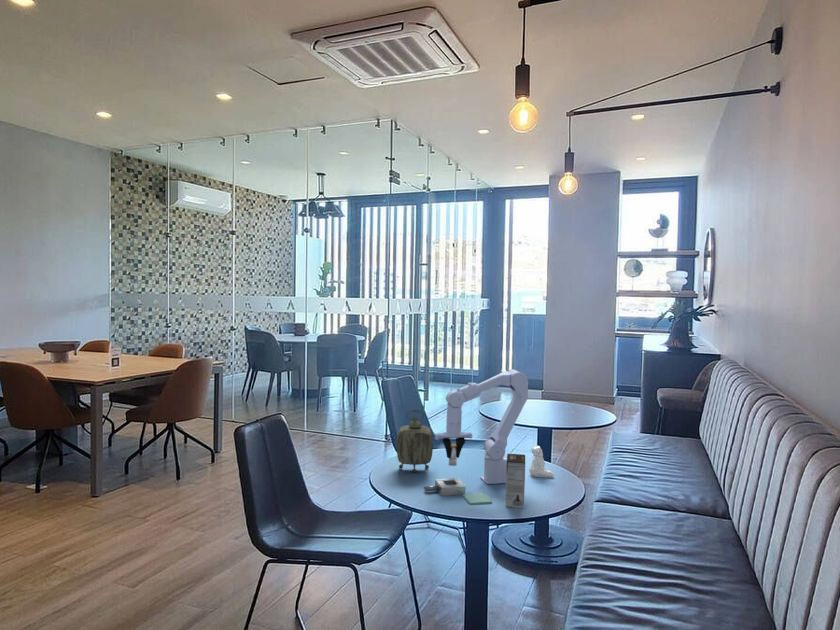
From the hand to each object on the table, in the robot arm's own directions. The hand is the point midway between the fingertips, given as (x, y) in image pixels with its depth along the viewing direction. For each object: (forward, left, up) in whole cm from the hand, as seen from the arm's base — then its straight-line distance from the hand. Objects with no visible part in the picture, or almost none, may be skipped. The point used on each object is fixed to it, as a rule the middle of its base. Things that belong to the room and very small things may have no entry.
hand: (452, 457), depth 210 cm
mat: (-3, +20, -9) cm, 22 cm away
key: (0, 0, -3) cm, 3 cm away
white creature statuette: (-37, -1, -10) cm, 38 cm away
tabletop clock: (+12, -14, -10) cm, 21 cm away
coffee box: (-15, +25, -10) cm, 31 cm away
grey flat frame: (+6, +10, -9) cm, 15 cm away
